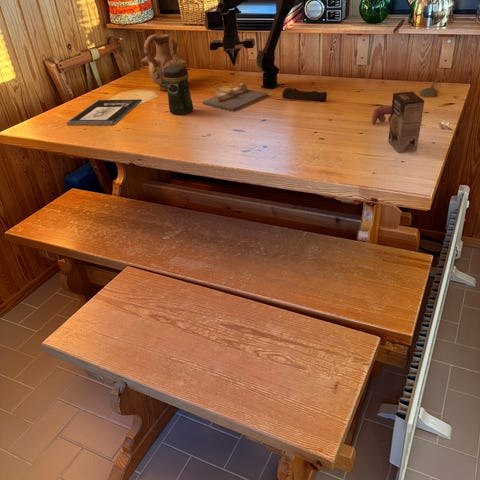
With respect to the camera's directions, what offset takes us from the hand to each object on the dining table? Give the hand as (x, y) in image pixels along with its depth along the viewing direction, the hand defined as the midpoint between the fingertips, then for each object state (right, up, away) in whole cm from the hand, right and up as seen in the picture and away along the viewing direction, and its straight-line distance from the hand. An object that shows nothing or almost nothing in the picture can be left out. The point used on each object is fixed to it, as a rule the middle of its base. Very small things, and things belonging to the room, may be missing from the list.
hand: (234, 65), depth 200 cm
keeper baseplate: (+1, -16, -2) cm, 16 cm away
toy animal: (+55, -34, -36) cm, 74 cm away
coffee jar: (-22, -23, -8) cm, 32 cm away
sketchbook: (-56, -21, 0) cm, 60 cm away
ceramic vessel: (-30, -3, +22) cm, 38 cm away
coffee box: (+54, -46, -53) cm, 89 cm away
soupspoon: (+81, -15, -11) cm, 83 cm away
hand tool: (+29, -18, -9) cm, 35 cm away
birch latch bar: (-1, -13, 0) cm, 13 cm away
